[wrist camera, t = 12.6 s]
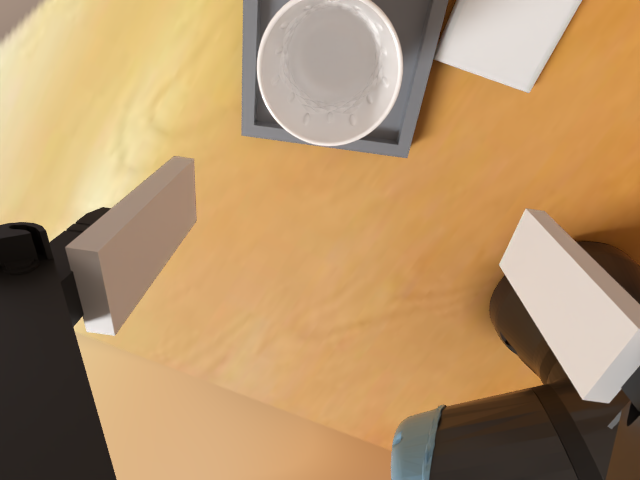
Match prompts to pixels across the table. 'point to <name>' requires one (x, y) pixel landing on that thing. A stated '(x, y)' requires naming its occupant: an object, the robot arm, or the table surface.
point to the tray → (418, 52)
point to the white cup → (330, 69)
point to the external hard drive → (504, 38)
